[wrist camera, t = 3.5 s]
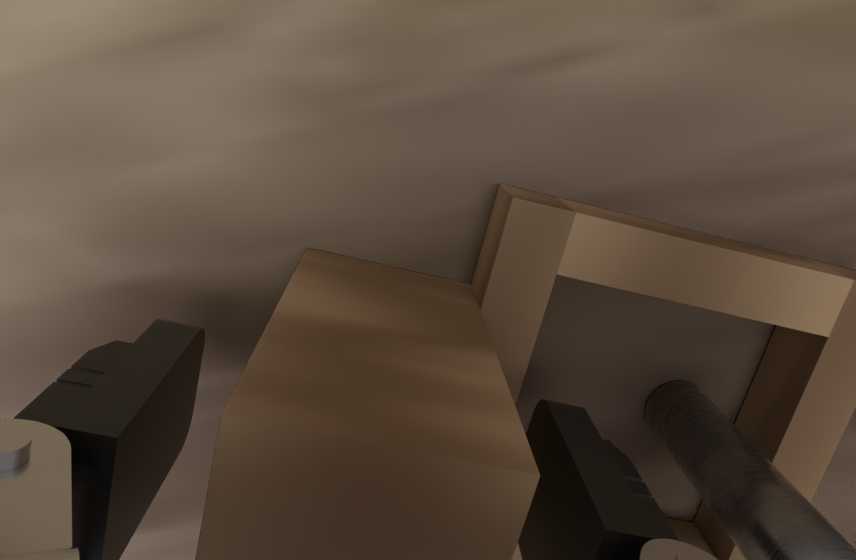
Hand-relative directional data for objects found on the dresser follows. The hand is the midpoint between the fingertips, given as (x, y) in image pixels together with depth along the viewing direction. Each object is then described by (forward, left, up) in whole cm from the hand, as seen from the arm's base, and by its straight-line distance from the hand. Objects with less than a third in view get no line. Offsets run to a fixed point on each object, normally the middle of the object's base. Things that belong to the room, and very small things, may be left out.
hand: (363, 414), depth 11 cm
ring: (-4, 0, -3) cm, 5 cm away
